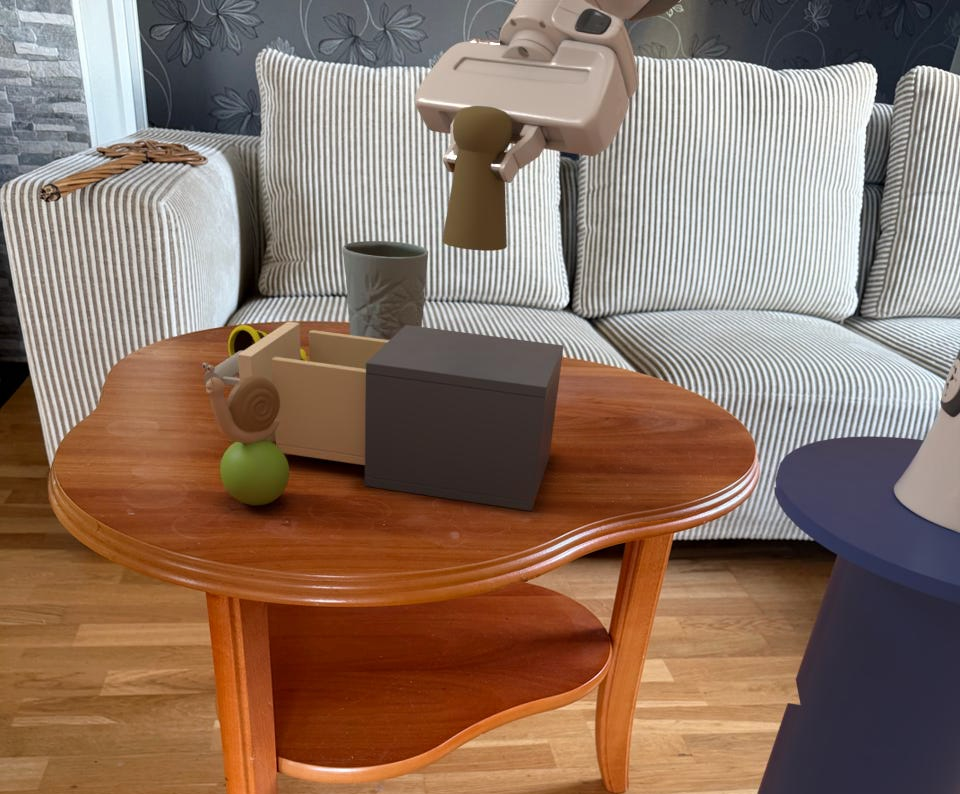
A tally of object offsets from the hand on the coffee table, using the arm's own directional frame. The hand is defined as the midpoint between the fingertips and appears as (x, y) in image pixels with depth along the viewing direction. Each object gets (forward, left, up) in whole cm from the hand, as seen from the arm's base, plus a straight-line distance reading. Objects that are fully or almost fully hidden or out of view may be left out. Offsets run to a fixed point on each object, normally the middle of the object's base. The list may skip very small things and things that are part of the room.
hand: (475, 172), depth 80 cm
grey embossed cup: (+14, -23, -24) cm, 36 cm away
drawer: (+11, +11, -23) cm, 28 cm away
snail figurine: (+12, +24, -24) cm, 36 cm away
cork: (0, -1, -6) cm, 6 cm away
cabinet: (-3, +11, -23) cm, 26 cm away
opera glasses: (+23, -8, -24) cm, 34 cm away
